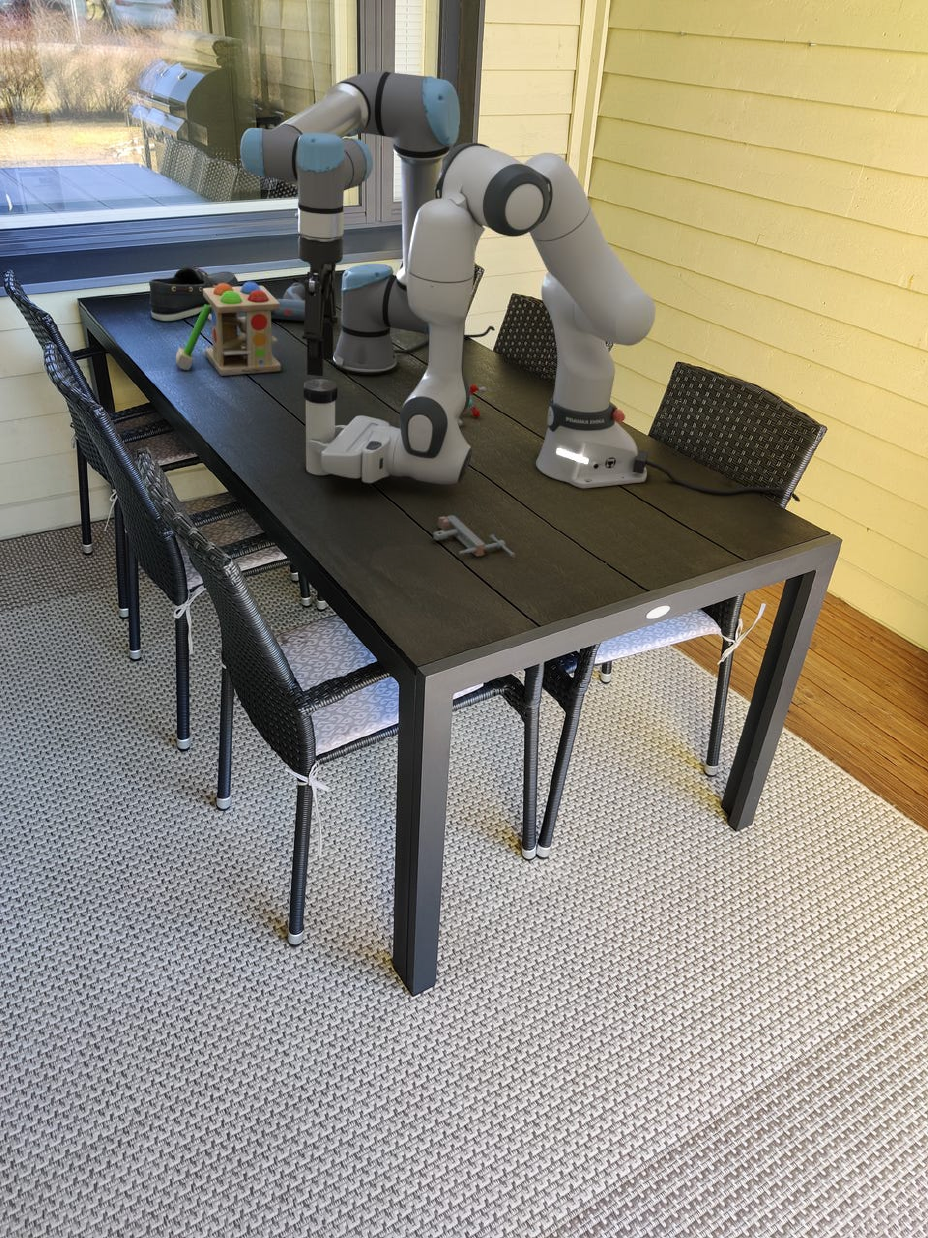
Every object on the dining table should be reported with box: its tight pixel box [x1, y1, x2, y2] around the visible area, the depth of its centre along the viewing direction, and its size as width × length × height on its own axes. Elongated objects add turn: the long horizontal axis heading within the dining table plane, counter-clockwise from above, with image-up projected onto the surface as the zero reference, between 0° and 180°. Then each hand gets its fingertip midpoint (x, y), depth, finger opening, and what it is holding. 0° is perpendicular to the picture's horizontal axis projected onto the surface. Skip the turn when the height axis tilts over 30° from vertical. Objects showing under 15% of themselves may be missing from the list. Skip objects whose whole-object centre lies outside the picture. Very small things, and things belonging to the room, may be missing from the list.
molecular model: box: [457, 384, 487, 427], centre depth 214 cm, size 12×10×10 cm
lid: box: [303, 378, 339, 403], centre depth 181 cm, size 6×6×2 cm
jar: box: [305, 399, 336, 476], centre depth 185 cm, size 5×5×16 cm
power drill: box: [271, 282, 338, 322], centre depth 265 cm, size 5×19×20 cm
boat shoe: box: [148, 265, 240, 322], centre depth 262 cm, size 13×33×10 cm, turn 147°
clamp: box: [433, 515, 517, 559], centre depth 169 cm, size 15×2×10 cm
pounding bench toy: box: [174, 281, 282, 377], centre depth 225 cm, size 23×14×18 cm, turn 116°
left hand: (320, 366), depth 178 cm, fingers open, 8 cm apart
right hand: (315, 436), depth 186 cm, fingers closed on jar, 5 cm apart
